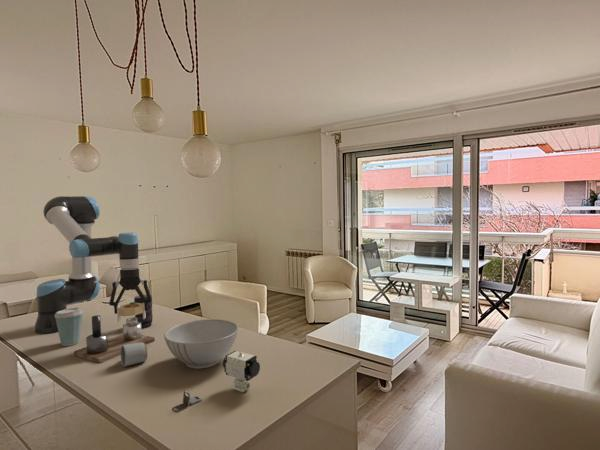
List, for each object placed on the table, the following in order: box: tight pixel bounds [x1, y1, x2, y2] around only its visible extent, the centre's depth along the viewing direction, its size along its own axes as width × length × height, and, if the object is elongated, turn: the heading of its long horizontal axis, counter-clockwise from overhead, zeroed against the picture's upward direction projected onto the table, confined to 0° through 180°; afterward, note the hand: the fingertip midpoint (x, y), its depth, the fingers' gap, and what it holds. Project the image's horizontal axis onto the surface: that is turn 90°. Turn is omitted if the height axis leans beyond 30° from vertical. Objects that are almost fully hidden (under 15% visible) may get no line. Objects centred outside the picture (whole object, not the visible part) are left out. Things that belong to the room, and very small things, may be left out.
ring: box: [119, 301, 143, 317], centre depth 160 cm, size 9×9×4 cm
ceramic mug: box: [120, 343, 148, 368], centre depth 139 cm, size 11×8×8 cm
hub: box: [122, 316, 143, 341], centre depth 161 cm, size 7×7×8 cm
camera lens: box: [133, 294, 154, 329], centre depth 181 cm, size 8×8×15 cm
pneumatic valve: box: [222, 350, 261, 393], centre depth 116 cm, size 6×12×12 cm, turn 58°
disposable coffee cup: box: [55, 306, 84, 347], centre depth 160 cm, size 11×11×15 cm
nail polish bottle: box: [85, 314, 109, 355], centre depth 146 cm, size 7×7×14 cm
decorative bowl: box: [163, 318, 239, 370], centre depth 138 cm, size 27×27×12 cm
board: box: [73, 333, 156, 364], centre depth 154 cm, size 17×25×2 cm
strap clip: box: [171, 390, 203, 413], centre depth 108 cm, size 8×3×4 cm, turn 137°
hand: (131, 319), depth 160 cm, fingers closed on ring, 9 cm apart
